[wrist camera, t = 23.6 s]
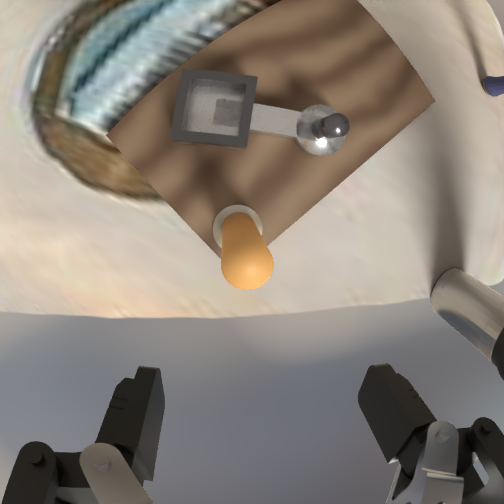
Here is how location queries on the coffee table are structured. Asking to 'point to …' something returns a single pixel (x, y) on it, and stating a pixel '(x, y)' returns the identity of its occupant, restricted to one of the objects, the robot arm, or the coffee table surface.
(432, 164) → the coffee table surface
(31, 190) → the coffee table surface
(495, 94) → the rubber mallet
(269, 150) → the base
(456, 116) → the coffee table surface
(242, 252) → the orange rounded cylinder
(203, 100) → the lever
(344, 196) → the coffee table surface
